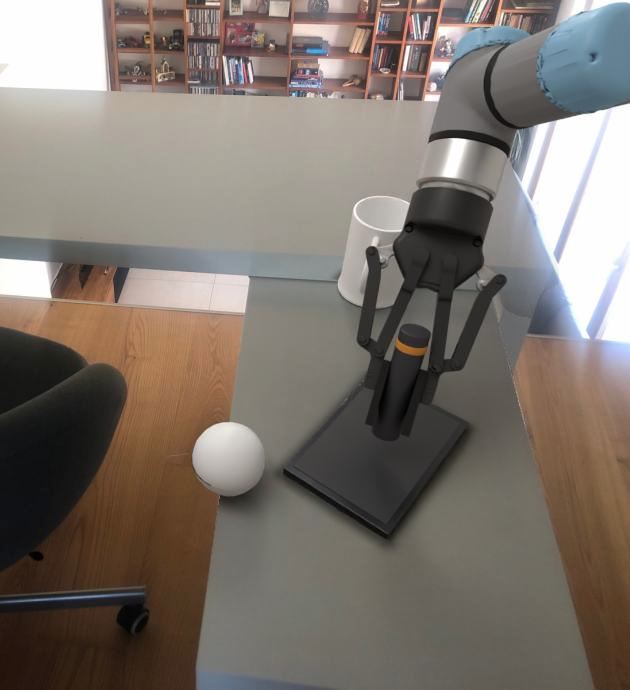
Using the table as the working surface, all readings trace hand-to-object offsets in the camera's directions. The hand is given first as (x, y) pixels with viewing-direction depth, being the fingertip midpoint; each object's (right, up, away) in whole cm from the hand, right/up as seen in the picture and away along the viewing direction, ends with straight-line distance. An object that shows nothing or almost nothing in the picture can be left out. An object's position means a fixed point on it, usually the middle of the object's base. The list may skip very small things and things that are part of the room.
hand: (386, 429), depth 67 cm
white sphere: (-17, -6, +4) cm, 18 cm away
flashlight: (+1, -1, +3) cm, 3 cm away
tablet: (+1, -3, +6) cm, 7 cm away
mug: (+5, +15, +25) cm, 30 cm away
